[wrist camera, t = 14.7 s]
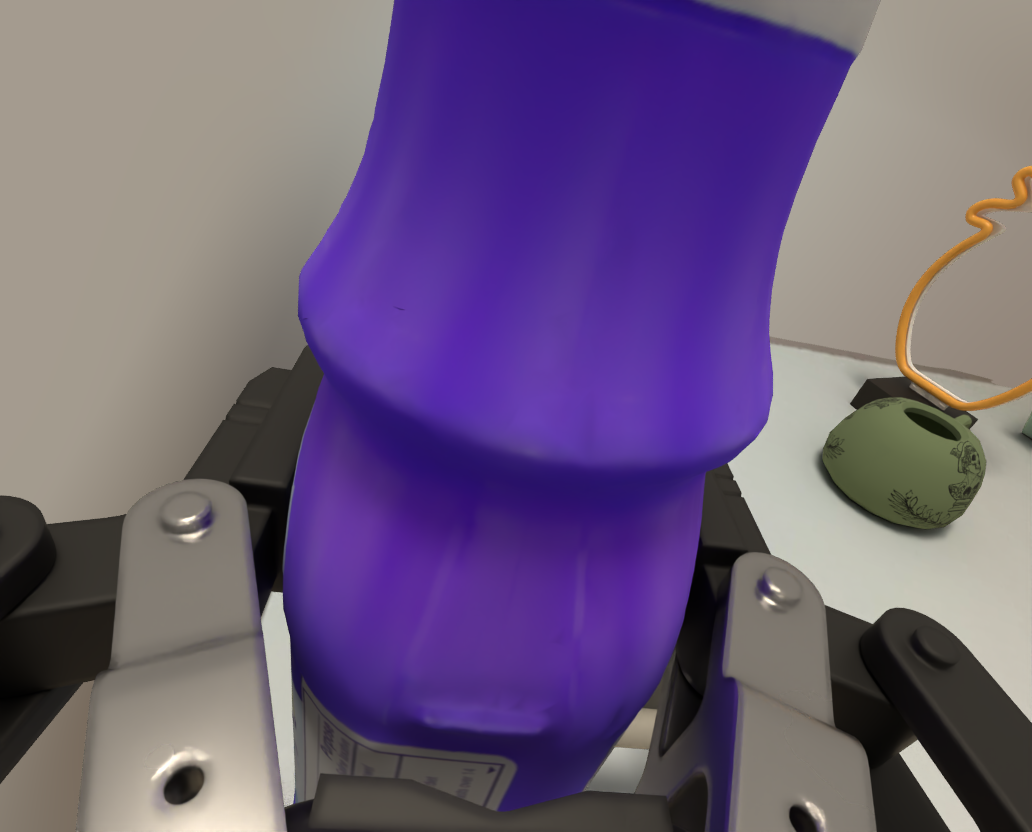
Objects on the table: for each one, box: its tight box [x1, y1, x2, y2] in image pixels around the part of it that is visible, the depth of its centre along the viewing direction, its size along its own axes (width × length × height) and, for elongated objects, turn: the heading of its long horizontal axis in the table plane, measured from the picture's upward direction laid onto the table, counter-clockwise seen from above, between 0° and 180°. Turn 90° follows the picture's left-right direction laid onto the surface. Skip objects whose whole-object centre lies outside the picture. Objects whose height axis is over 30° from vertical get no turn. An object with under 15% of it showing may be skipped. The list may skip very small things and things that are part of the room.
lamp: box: [850, 166, 1032, 429], centre depth 58 cm, size 17×9×32 cm, turn 21°
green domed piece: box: [823, 397, 986, 529], centre depth 54 cm, size 16×13×9 cm
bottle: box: [282, 0, 881, 812], centre depth 9 cm, size 7×6×17 cm
